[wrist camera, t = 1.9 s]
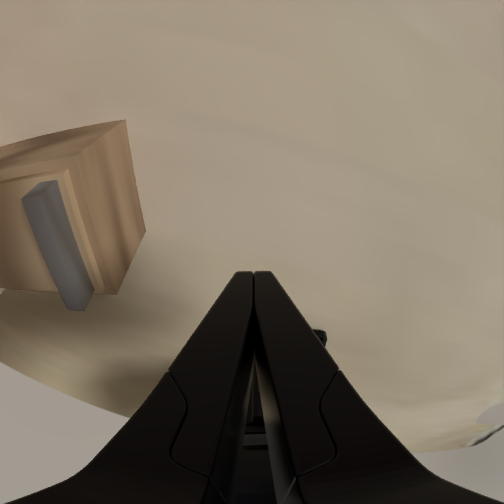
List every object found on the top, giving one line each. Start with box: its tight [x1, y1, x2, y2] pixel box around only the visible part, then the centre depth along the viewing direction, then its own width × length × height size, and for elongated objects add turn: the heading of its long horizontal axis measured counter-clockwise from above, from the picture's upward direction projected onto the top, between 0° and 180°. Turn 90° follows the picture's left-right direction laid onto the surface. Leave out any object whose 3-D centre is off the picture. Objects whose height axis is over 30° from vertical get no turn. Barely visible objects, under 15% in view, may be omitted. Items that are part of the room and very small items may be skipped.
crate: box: [0, 120, 146, 311], centre depth 12 cm, size 9×6×7 cm, turn 91°
